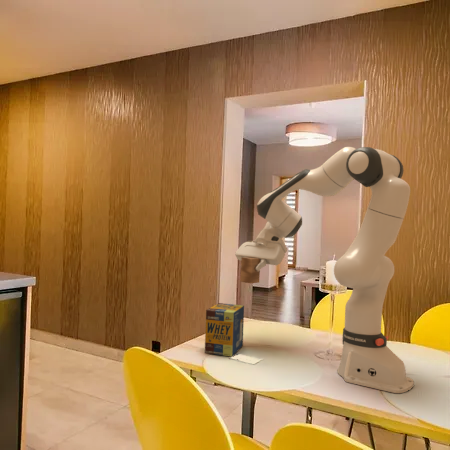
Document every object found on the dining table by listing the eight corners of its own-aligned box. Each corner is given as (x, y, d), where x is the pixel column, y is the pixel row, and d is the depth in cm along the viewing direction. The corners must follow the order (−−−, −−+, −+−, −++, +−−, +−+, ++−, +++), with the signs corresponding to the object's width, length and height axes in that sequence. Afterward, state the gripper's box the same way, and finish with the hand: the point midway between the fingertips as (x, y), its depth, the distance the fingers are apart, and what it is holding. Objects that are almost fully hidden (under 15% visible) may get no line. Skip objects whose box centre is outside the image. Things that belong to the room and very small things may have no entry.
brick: (259, 282, 153) (260, 258, 153) (250, 283, 150) (251, 258, 149) (248, 280, 157) (250, 257, 157) (240, 281, 153) (241, 257, 153)
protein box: (204, 353, 145) (205, 309, 146) (217, 342, 160) (218, 302, 160) (232, 357, 142) (233, 312, 143) (243, 345, 157) (244, 304, 157)
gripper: (242, 235, 165) (225, 260, 158) (285, 238, 151) (267, 266, 144) (249, 246, 168) (232, 271, 161) (291, 250, 154) (274, 278, 147)
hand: (249, 269), depth 153 cm, fingers closed on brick, 5 cm apart
